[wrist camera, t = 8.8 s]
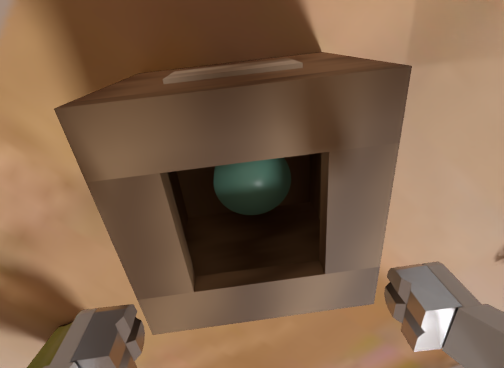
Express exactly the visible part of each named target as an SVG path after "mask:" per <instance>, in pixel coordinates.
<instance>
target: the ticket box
mask: <svg viewBox="0 0 504 368" xmlns="http://www.w3.org/2000/svg"><path fill="white" fill-rule="evenodd" d="M411 68H412V66H409V65H402V64H396V63H389V62H383V61H376V60H370V59H363V58H357V57H350V56H344V55H338V54H331V53H325V52H318V53H310V54H301V55H293V56H284V57H276V58H267V59H259V60H250V61H242V62H233V63H225V64H216V65H207V66H199V67H190V68H182V69H173V70H165V71H156V72H148V73H139V74H137V75H134V76H132V77H129V78H127V79H124V80H122V81H120V82H117V83H115V84H112V85H110V86H108V87H105V88H103V89H100V90H98V91H96V92H93V93H91V94H88V95H86V96H84V97H81V98H79V99H76V100H74V101H71V102H69V103H67V104H64V105H62V106H59V107H57V108H55V109H54V110H55V112H56V115H57V117H58V119H59V121H60V124H61V126H62V128H63V131H64V133H65V135H66V137H67V140H68V142H69V144H70V147H71V149H72V151H73V153H74V156H75V158H76V160H77V163H78V165H79V167H80V169H81V172H82V174H83V176H84V179H85V181H86V183H87V185H88V188H89V190H90V192H91V195H92V197H93V199H94V202H95V204H96V206H97V208H98V211H99V213H100V215H101V218H102V220H103V222H104V224H105V227H106V229H107V231H108V234H109V236H110V238H111V240H112V243H113V245H114V247H115V250H116V252H117V254H118V256H119V259H120V261H121V263H122V266H123V268H124V270H125V272H126V275H127V277H128V279H129V282H130V284H131V286H132V288H133V291H134V293H135V295H136V298H137V300H138V302H139V305H140V307H141V309H142V311H143V314H144V316H145V318H146V321H147V323H148V325H149V327H150V330H151V332H152V334H153V335H156V334H163V333H170V332H177V331H185V330H192V329H199V328H206V327H213V326H220V325H227V324H234V323H241V322H248V321H256V320H263V319H270V318H277V317H284V316H291V315H298V314H305V313H312V312H319V311H327V310H334V309H341V308H348V307H355V306H362V305H369V304H374V299H375V293H376V287H377V281H378V274H379V268H380V262H381V256H382V249H383V243H384V237H385V231H386V224H387V218H388V212H389V206H390V199H391V193H392V187H393V181H394V174H395V168H396V162H397V156H398V149H399V143H400V137H401V131H402V124H403V118H404V112H405V106H406V99H407V93H408V87H409V81H410V74H411ZM276 158H285V160H286V162H287V164H288V166H289V169H290V173H291V185H290V189H289V191H288V194H287V195H286V197H285V198H284V200H283V201H282V202H281V203H280V204H279V205H278V206H277V207H275V208H274V209H272V210H270V211H268V212H266V213H263V214H258V215H243V214H239V213H236V212H234V211H231V210H230V209H228V208H227V207H226V206H224V205H223V204H222V203H221V201H220V200H219V199H218V197H217V195H216V193H215V190H214V182H213V180H214V170H215V166H220V165H228V164H236V163H244V162H252V161H260V160H268V159H276Z"/></svg>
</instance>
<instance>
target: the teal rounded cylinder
mask: <svg viewBox="0 0 504 368" xmlns="http://www.w3.org/2000/svg"><path fill="white" fill-rule="evenodd" d="M213 182H214V190H215V193H216V195H217V197H218V199H219V200H220V201H221V203H222V204H223V205H224V206H226V207H227V208H228V209H230V210H231V211H234V212H236V213H239V214H243V215H258V214H263V213H266V212H268V211H270V210H272V209H274V208H275V207H277V206H278V205H279V204H280V203H281V202H282V201H283V200H284V198H285V197H286V195H287V194H288V191H289V189H290V185H291V173H290V169H289V166H288V164H287V162H286V160H285V158H276V159H268V160H260V161H252V162H244V163H236V164H228V165H220V166H215V170H214V180H213Z"/></svg>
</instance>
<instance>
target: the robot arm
mask: <svg viewBox="0 0 504 368" xmlns="http://www.w3.org/2000/svg"><path fill="white" fill-rule="evenodd" d="M387 278H388V279H389V281H390V283H389V284H388V285H387V286H386V287H385V293H384V295H385V301H386V304H387V307H388V309H389V311H390V313H391V315H392V316H393V318H395V319H396V320H398V321H399V322H401V323H402V326H401V332H402V333H403V335H404V337H405V338H406V340H407V342H408V343H409V345H410V347H411V348H412V350H413V352H417V351H426V350H435V349H443V351H444V352H445V353H447V354H448V355H449V356H450V357H452V358H453V359H454V360H455V361H457V362H458V363H459V364H461V365H462V366H463V367H465V368H504V312H502V311H500V310H498V309H496V308H494V307H492V306H490V305H488V304H481V303H480V302H479V301H478V300H477V299H476V298H475V297H474V296H473V295H472V294H471V293H470V292H469V291H468V289H467V288H466V287H465V286H464V285H463V284H462V283H461V282H460V281H459V280H458V279H457V278H456V277H455V276H454V275H453V274H452V273H451V272H450V271H449V270H448V269H447V268H446V267H445V266H444V265H443V264H442V263H440V262H432V263H424V264H416V265H409V266H402V267H396V268H391V269H390V270H389V271H388V275H387ZM136 313H137V310H136V308H135V307H134V305H121V306H112V307H103V308H95V309H87V310H82V311H81V312H79V313H78V314H77V316H76V317H75V319H74V321H73V323H72V325H71V327H70V328H69V330H68V332H67V334H66V336H65V338H64V339H63V341H62V343H61V345H60V347H59V349H58V351H57V352H56V354H55V356H54V358H53V360H52V362H51V363H50V365H49V366H44V367H43V368H137V366H136V364H135V360H136V359H137V358H138V356H139V355H140V354H141V353H142V349H143V345H144V336H145V332H144V326H143V324H142V321H141V320H139V319H137V318H136V317H135V316H136Z"/></svg>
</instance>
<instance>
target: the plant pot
mask: <svg viewBox="0 0 504 368" xmlns="http://www.w3.org/2000/svg"><path fill="white" fill-rule="evenodd" d="M72 323H73V322H72ZM72 323H70V324H68V325H66V326H63V327H62V326H60V327H59V328H57V329H56V330H55V332H54V333H53V334H52V335H51V337H50V338H49V339H48V341H47V342H46V343H45V345H44V346H43V347H42V349H41V350H40V351H39V353H38V354H37V355H36V357H35V358H34V359H33V360H32V362H31V363H30V364H29V366H28V367H27V368H43V367H44V366H49V365H50V363H51V362H52V360H53V358H54V356H55V354H56V352H57V351H58V349H59V347H60V345H61V343H62V341H63V339H64V338H65V336H66V334H67V332H68V330H69V328H70V327H71V325H72Z"/></svg>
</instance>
